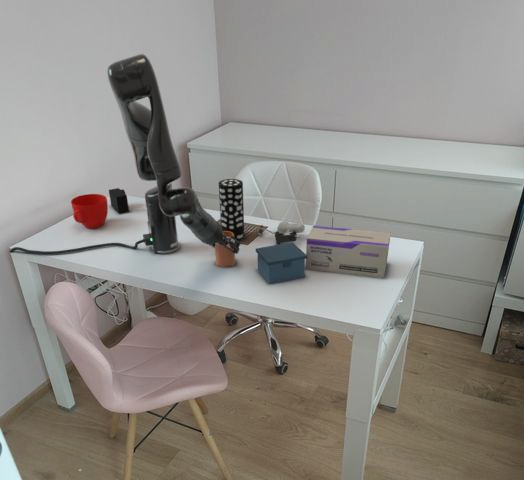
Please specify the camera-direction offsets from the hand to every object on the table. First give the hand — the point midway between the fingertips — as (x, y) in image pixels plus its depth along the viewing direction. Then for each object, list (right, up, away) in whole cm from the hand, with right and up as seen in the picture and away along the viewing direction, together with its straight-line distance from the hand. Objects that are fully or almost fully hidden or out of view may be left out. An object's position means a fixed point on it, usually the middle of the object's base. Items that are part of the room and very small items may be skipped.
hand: (227, 248), depth 178 cm
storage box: (+17, -9, -5) cm, 20 cm away
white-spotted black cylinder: (+1, +7, +19) cm, 20 cm away
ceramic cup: (-54, +13, +28) cm, 62 cm away
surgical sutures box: (+39, -6, -1) cm, 40 cm away
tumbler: (-1, -4, +2) cm, 5 cm away
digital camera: (-46, +24, +44) cm, 68 cm away
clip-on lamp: (+17, +7, +18) cm, 26 cm away
